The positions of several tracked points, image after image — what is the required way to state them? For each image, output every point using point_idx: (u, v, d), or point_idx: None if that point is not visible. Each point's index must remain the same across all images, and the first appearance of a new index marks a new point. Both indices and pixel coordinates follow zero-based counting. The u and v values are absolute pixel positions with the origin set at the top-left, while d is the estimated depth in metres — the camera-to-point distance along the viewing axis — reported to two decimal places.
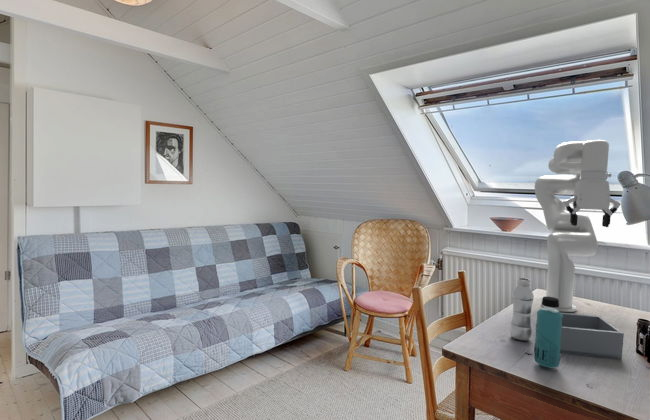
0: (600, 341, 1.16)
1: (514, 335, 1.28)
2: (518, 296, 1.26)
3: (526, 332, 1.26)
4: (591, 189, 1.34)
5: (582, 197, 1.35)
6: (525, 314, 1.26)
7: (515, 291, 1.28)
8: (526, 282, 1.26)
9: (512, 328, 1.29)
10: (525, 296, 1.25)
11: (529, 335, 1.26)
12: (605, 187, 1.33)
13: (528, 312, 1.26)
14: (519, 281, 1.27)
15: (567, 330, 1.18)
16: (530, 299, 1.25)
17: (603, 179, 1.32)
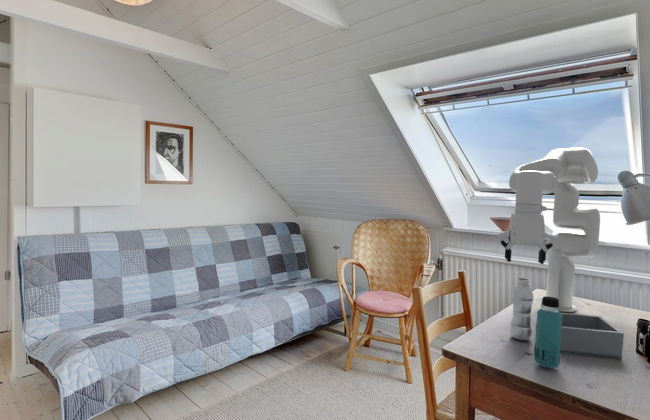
0: (600, 341, 1.16)
1: (514, 335, 1.28)
2: (518, 296, 1.26)
3: (526, 332, 1.26)
4: (524, 223, 1.24)
5: (515, 231, 1.25)
6: (525, 314, 1.26)
7: (515, 291, 1.28)
8: (526, 282, 1.26)
9: (512, 328, 1.29)
10: (525, 296, 1.25)
11: (529, 335, 1.26)
12: (539, 221, 1.23)
13: (528, 312, 1.26)
14: (519, 281, 1.27)
15: (567, 330, 1.18)
16: (530, 299, 1.25)
17: (537, 213, 1.23)
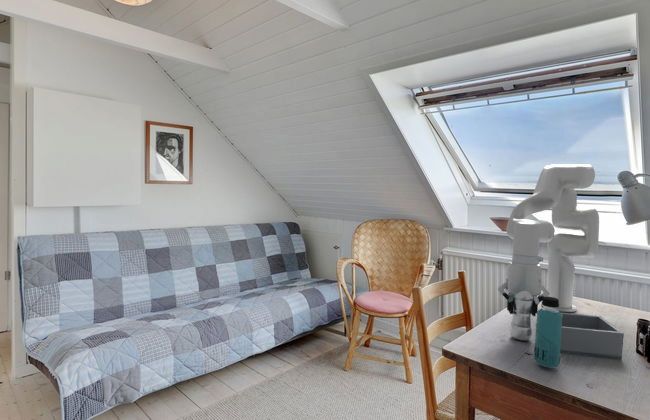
0: (600, 341, 1.16)
1: (514, 335, 1.28)
2: (518, 296, 1.26)
3: (526, 332, 1.26)
4: (521, 274, 1.26)
5: (512, 281, 1.27)
6: (525, 314, 1.26)
7: None
8: None
9: (512, 328, 1.29)
10: (525, 296, 1.25)
11: (529, 335, 1.26)
12: (536, 272, 1.25)
13: (528, 312, 1.26)
14: None
15: (567, 330, 1.18)
16: (530, 299, 1.25)
17: (534, 265, 1.24)
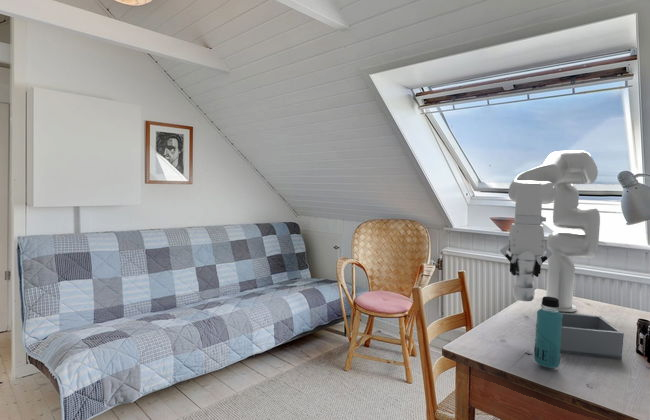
0: (600, 341, 1.16)
1: (517, 296, 1.27)
2: (521, 257, 1.26)
3: (529, 292, 1.26)
4: (524, 234, 1.25)
5: (515, 242, 1.26)
6: (528, 275, 1.26)
7: None
8: None
9: (515, 289, 1.28)
10: (528, 256, 1.25)
11: (532, 296, 1.26)
12: (539, 232, 1.24)
13: (531, 273, 1.26)
14: None
15: (567, 330, 1.18)
16: (533, 259, 1.25)
17: (536, 224, 1.23)
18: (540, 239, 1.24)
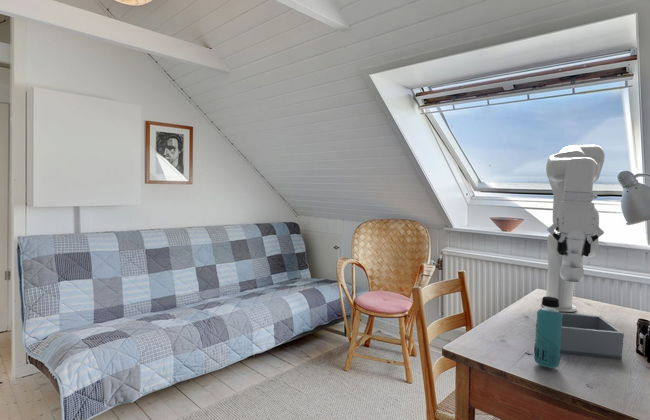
0: (600, 341, 1.16)
1: (565, 277, 1.23)
2: (570, 235, 1.21)
3: (579, 272, 1.21)
4: (574, 212, 1.20)
5: (564, 220, 1.21)
6: (577, 254, 1.21)
7: None
8: None
9: (563, 270, 1.23)
10: (578, 234, 1.20)
11: (582, 276, 1.21)
12: (590, 210, 1.19)
13: (581, 252, 1.21)
14: None
15: (567, 330, 1.18)
16: (583, 238, 1.20)
17: (588, 201, 1.18)
18: (591, 217, 1.19)
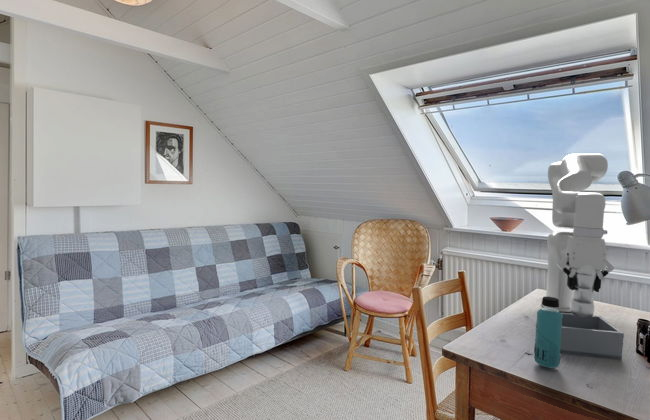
0: (600, 341, 1.16)
1: (576, 312, 1.22)
2: (581, 271, 1.21)
3: (589, 308, 1.20)
4: (585, 247, 1.20)
5: (575, 256, 1.21)
6: (588, 290, 1.21)
7: None
8: None
9: (573, 305, 1.23)
10: (589, 270, 1.20)
11: (592, 312, 1.21)
12: (601, 246, 1.19)
13: (591, 287, 1.21)
14: None
15: (567, 330, 1.18)
16: (594, 274, 1.20)
17: (598, 237, 1.18)
18: (602, 253, 1.19)
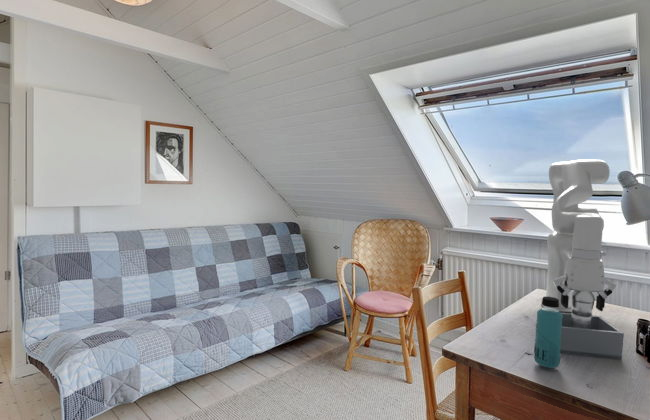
0: (600, 341, 1.16)
1: None
2: (579, 298, 1.22)
3: None
4: (583, 269, 1.21)
5: (573, 277, 1.22)
6: (586, 318, 1.22)
7: (575, 293, 1.23)
8: None
9: None
10: (587, 298, 1.21)
11: None
12: (599, 268, 1.20)
13: (589, 315, 1.21)
14: None
15: (567, 330, 1.18)
16: (592, 302, 1.21)
17: (597, 259, 1.19)
18: (600, 275, 1.20)
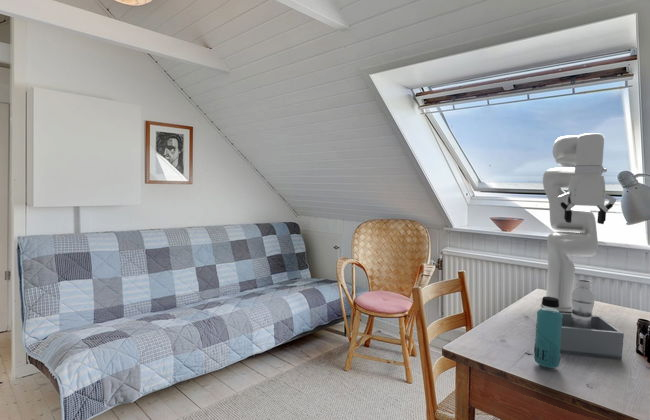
0: (600, 341, 1.16)
1: None
2: (579, 298, 1.22)
3: None
4: (585, 184, 1.28)
5: (576, 192, 1.30)
6: (586, 318, 1.22)
7: (575, 293, 1.23)
8: (587, 284, 1.21)
9: None
10: (587, 298, 1.21)
11: None
12: (600, 182, 1.28)
13: (589, 315, 1.21)
14: (579, 283, 1.23)
15: (567, 330, 1.18)
16: (592, 302, 1.21)
17: (598, 174, 1.27)
18: (601, 189, 1.28)
